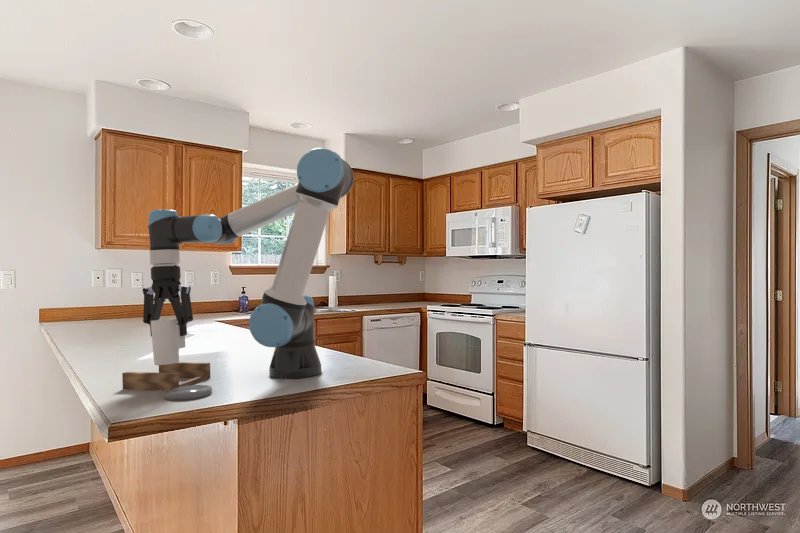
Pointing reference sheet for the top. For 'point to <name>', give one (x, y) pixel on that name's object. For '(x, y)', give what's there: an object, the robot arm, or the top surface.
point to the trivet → (188, 392)
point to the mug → (164, 341)
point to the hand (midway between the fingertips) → (169, 347)
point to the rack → (167, 376)
